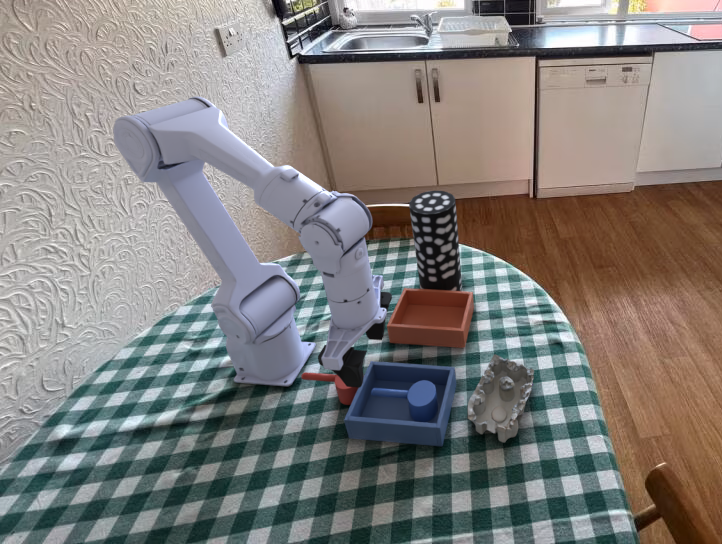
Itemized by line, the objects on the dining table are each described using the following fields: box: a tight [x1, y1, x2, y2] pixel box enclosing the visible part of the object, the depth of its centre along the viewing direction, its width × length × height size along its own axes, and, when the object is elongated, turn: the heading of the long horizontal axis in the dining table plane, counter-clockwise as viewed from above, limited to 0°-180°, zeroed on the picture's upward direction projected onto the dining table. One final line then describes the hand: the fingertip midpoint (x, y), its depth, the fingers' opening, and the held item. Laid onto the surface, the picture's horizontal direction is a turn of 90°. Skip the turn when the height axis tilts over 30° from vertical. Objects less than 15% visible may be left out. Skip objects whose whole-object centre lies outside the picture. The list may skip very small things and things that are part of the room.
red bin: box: [386, 287, 475, 349], centre depth 74 cm, size 13×9×4 cm
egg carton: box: [467, 354, 535, 444], centre depth 60 cm, size 11×8×4 cm
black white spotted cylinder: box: [408, 190, 463, 291], centre depth 79 cm, size 8×8×20 cm
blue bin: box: [343, 360, 457, 447], centre depth 60 cm, size 13×9×4 cm
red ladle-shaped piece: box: [300, 371, 365, 406], centre depth 63 cm, size 10×4×4 cm, turn 85°
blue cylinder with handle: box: [371, 380, 438, 422], centre depth 60 cm, size 10×4×4 cm, turn 85°
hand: (366, 360), depth 59 cm, fingers open, 7 cm apart
